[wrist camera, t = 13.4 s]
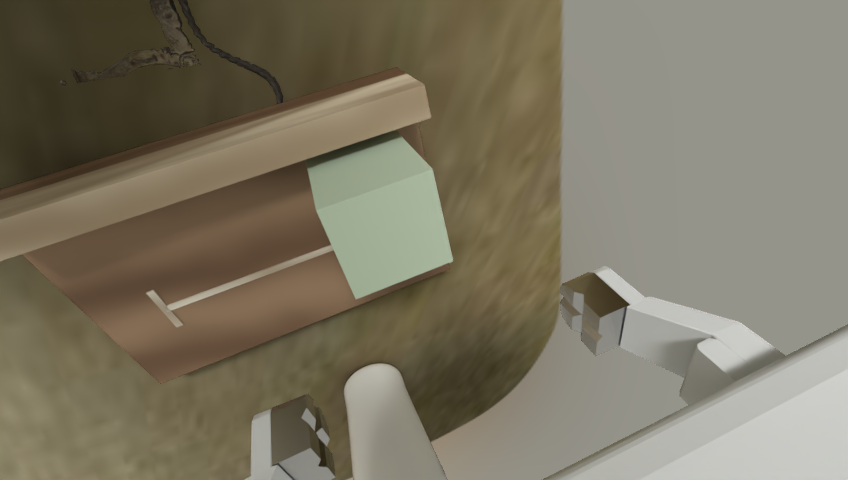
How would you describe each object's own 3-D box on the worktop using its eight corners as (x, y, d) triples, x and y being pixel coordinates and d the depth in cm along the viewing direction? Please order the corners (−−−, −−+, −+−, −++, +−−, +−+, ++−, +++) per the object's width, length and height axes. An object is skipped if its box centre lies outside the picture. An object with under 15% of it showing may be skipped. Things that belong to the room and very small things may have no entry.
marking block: (304, 153, 21) (316, 210, 15) (390, 125, 22) (432, 168, 16) (343, 246, 25) (364, 319, 19) (416, 219, 25) (458, 281, 20)
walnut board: (-3, 190, 19) (-74, 243, 15) (396, 67, 22) (424, 84, 18) (166, 360, 27) (149, 423, 23) (440, 254, 30) (467, 294, 26)
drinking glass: (325, 370, 33) (358, 587, 21) (401, 343, 34) (472, 533, 22) (344, 414, 37) (382, 618, 25) (412, 389, 38) (478, 571, 26)
